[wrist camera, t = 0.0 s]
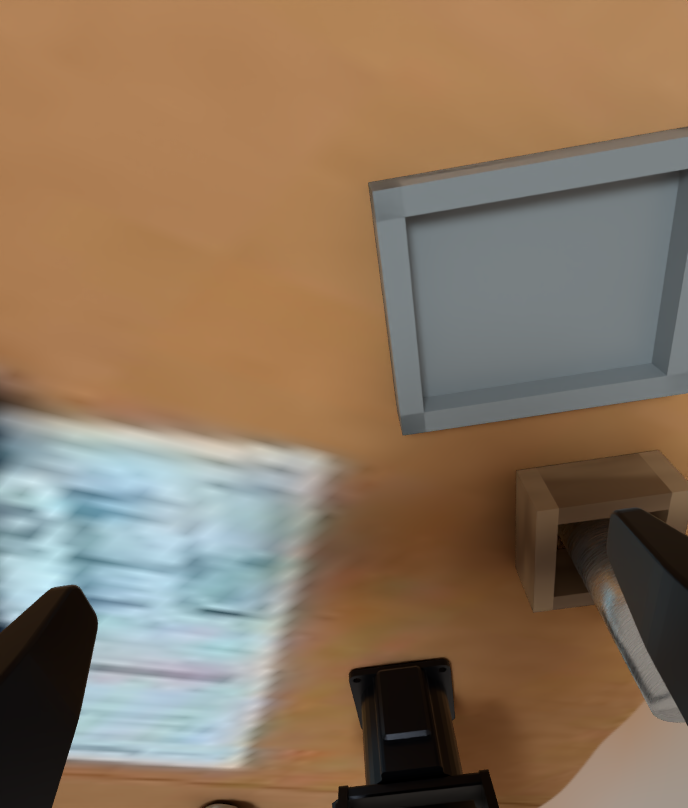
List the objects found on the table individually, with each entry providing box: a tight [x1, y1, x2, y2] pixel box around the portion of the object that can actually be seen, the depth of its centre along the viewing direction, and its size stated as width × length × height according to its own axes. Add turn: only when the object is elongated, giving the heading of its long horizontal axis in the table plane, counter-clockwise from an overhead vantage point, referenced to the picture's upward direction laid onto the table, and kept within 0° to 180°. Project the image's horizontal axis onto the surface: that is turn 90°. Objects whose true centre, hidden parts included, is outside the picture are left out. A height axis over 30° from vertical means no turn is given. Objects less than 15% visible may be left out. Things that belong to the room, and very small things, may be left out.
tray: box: [368, 127, 688, 435], centre depth 21 cm, size 10×12×2 cm
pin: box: [558, 518, 685, 723], centre depth 24 cm, size 3×3×10 cm
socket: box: [516, 450, 688, 612], centre depth 27 cm, size 7×7×3 cm
